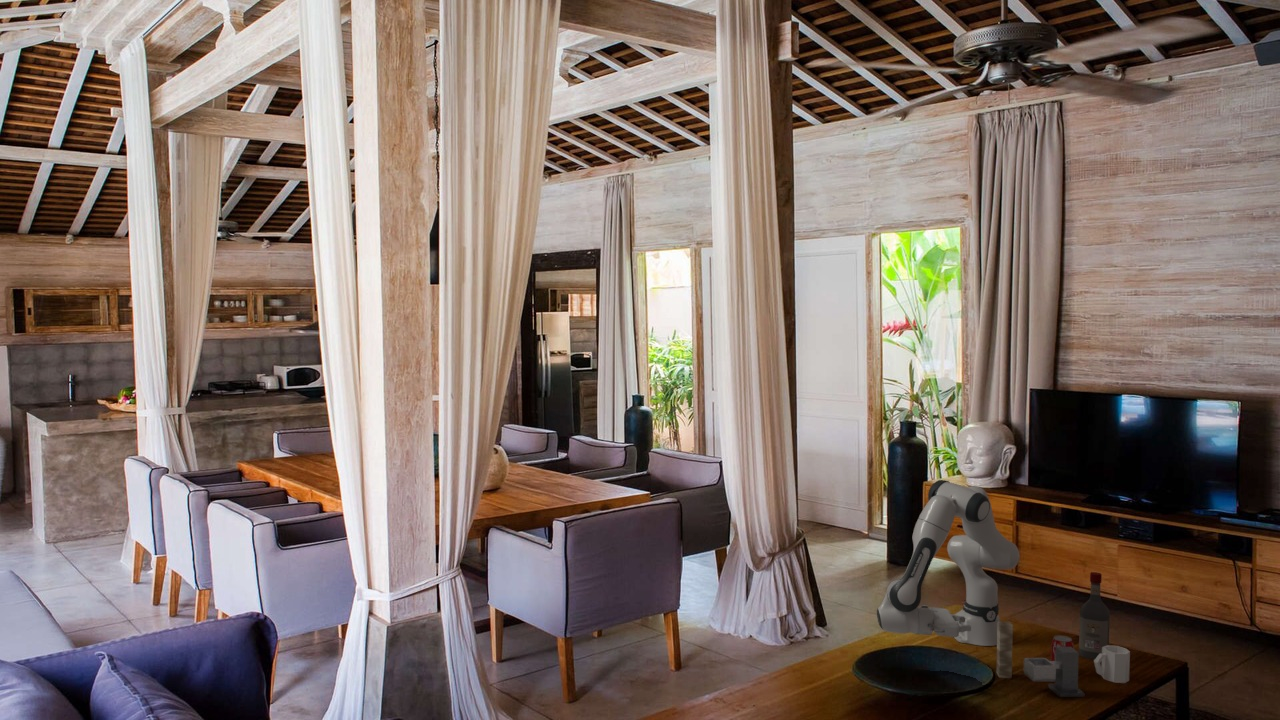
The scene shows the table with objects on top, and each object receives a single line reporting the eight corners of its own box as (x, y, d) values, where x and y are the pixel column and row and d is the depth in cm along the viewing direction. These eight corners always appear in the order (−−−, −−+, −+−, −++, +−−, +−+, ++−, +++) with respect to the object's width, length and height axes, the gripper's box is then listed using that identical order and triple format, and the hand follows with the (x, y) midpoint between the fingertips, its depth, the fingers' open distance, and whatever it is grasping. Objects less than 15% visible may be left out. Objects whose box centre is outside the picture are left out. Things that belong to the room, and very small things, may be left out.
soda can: (1075, 677, 320) (1076, 642, 319) (1053, 675, 321) (1054, 640, 321) (1070, 669, 327) (1071, 635, 326) (1048, 667, 328) (1049, 633, 327)
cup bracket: (1033, 697, 303) (1034, 654, 302) (1022, 687, 311) (1023, 645, 310) (1084, 696, 304) (1085, 654, 303) (1072, 686, 312) (1073, 645, 311)
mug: (1116, 672, 324) (1117, 644, 324) (1135, 682, 316) (1136, 653, 315) (1086, 675, 321) (1087, 647, 321) (1104, 685, 313) (1105, 656, 312)
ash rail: (999, 677, 319) (1000, 625, 318) (996, 673, 323) (997, 621, 322) (1011, 678, 319) (1012, 625, 318) (1008, 673, 323) (1009, 621, 322)
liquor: (1106, 662, 333) (1108, 578, 332) (1078, 657, 338) (1080, 574, 336) (1109, 654, 341) (1111, 572, 339) (1081, 649, 346) (1083, 568, 344)
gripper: (931, 621, 313) (974, 624, 311) (921, 603, 333) (962, 605, 331) (930, 640, 313) (974, 643, 311) (921, 621, 334) (961, 623, 332)
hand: (967, 623), depth 322 cm, fingers open, 8 cm apart
